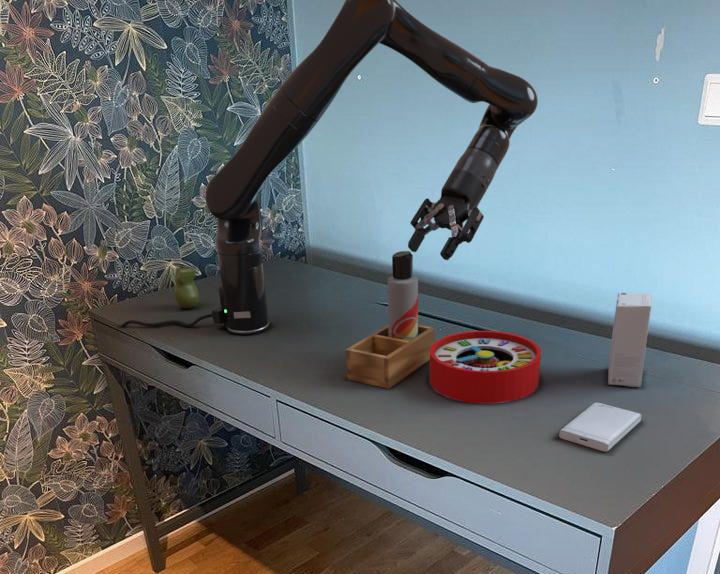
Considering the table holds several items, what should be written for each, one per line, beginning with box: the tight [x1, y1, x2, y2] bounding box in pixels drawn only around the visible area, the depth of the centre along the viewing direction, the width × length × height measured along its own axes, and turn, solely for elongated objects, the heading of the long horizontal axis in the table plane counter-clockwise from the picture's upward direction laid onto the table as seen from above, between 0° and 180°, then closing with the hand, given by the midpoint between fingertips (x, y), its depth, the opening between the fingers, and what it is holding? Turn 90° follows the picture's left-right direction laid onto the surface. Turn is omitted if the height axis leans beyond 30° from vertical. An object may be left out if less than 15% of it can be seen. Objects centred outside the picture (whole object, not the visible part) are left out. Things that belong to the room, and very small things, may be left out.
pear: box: [174, 265, 200, 310], centre depth 183 cm, size 6×5×10 cm
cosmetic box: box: [607, 292, 653, 388], centre depth 138 cm, size 8×6×15 cm
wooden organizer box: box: [345, 324, 436, 390], centre depth 148 cm, size 9×18×6 cm, turn 147°
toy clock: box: [429, 330, 542, 405], centre depth 141 cm, size 20×6×20 cm
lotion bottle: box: [387, 250, 419, 341], centre depth 147 cm, size 6×6×20 cm
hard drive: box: [558, 402, 642, 453], centre depth 124 cm, size 2×8×12 cm
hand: (427, 253), depth 146 cm, fingers open, 8 cm apart
